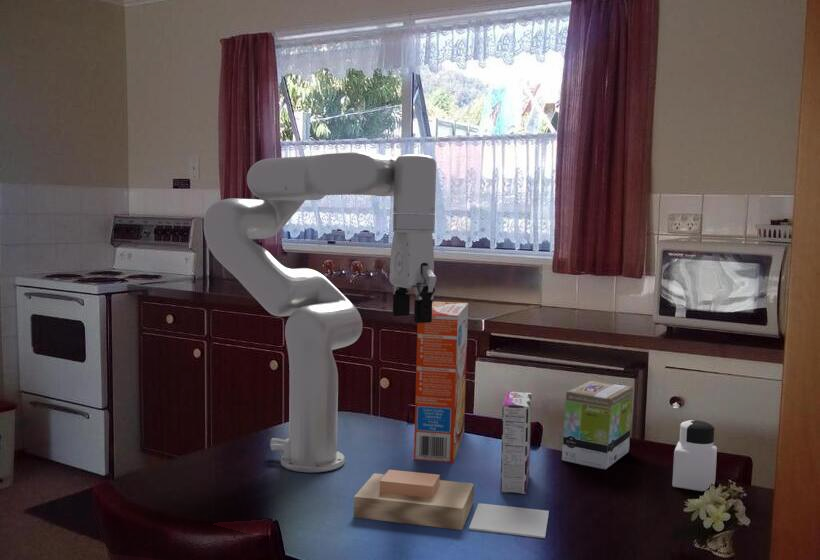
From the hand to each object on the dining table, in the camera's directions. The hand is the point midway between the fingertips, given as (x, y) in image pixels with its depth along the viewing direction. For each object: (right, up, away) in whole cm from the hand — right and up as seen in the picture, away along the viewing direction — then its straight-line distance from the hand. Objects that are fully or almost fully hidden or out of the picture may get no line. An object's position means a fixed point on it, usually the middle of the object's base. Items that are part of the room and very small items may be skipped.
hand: (411, 318), depth 141 cm
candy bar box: (+19, -31, +4) cm, 37 cm away
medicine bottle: (+54, -32, +7) cm, 63 cm away
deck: (+1, -32, -10) cm, 33 cm away
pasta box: (+6, -29, +28) cm, 41 cm away
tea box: (+39, -30, +22) cm, 54 cm away
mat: (+16, -33, -13) cm, 39 cm away
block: (0, -28, -10) cm, 30 cm away
